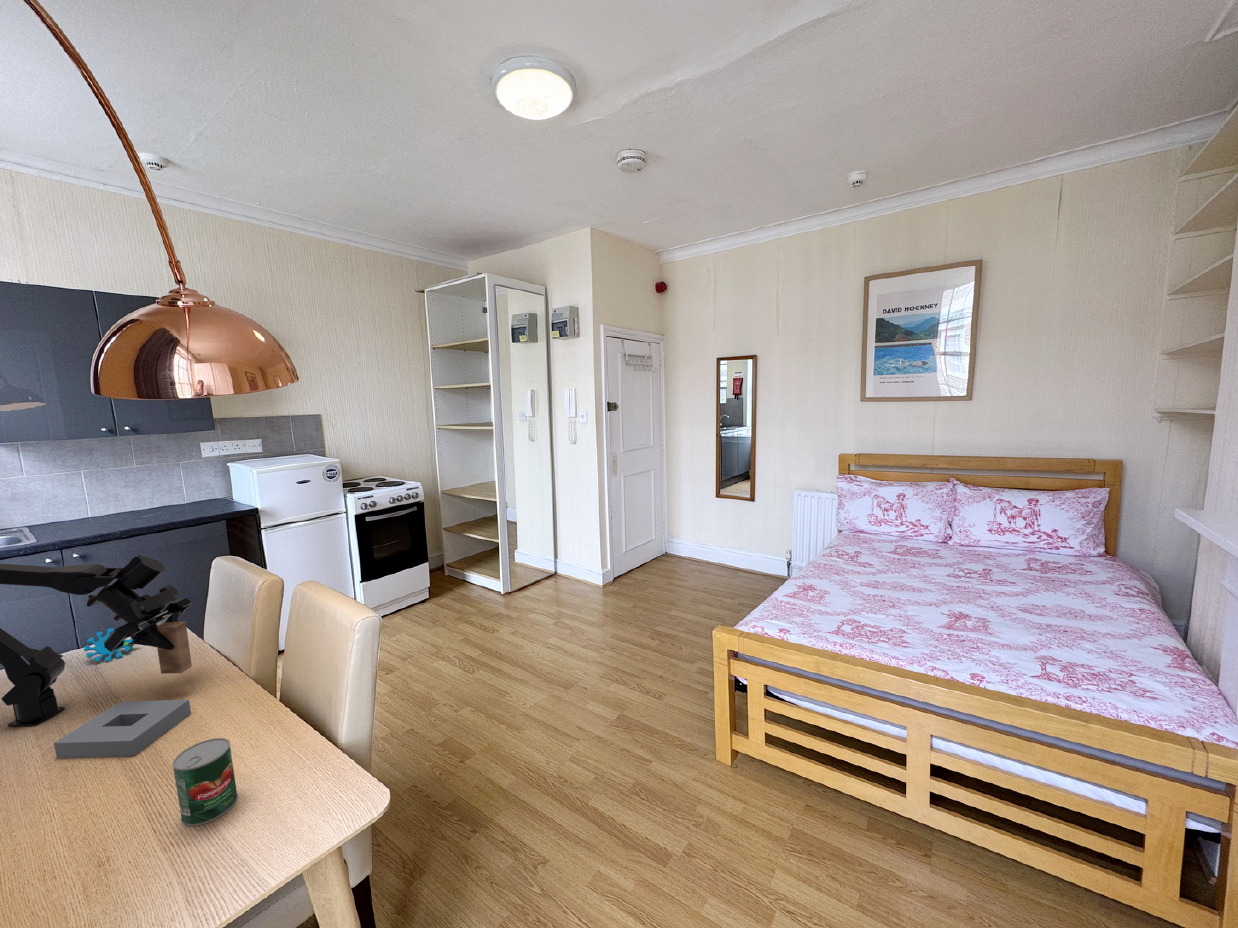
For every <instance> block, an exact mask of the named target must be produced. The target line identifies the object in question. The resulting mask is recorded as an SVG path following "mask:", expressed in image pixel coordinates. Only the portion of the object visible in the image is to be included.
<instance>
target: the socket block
mask: <svg viewBox="0 0 1238 928" xmlns="http://www.w3.org/2000/svg"><path fill="white" fill-rule="evenodd" d="M191 714H192V712H191V705H190V699H171V700H169V699H167V700H166V699H165V700H164V699H163V700H140V701H139V700H136V701H135V700H134V701H133V700H131V701H130V700H129V701H119V702H118V703H116V704H114V705H113V706H111V707H109V708H108V709H106V710H104V711H103V712H102V713H100V714H98V715H97V716H95V717H93V718H91V720H89V721H87V722H85V723H83V724H82V725H81V726H79V727H77V728H75V729H74V730H72V731H71V732H69V733H67V734H66V735H64V736H62V737H61V738H60V739H58V740H56V741H55V742H53V746H54V751H55V756H56V759H79V758H80V759H81V758H82V759H83V758H85V759H86V758H87V759H88V758H112V757H113V758H115V757H116V758H117V757H118V758H119V757H120V758H121V757H123V758H124V757H135V756H137V754H139V753H140V752H142V751H144V750H145V749H146V748H148V747H149V745H151V744H152V743H154V742H155V741H157V740H158V739H159V738H160V737H162V736H163V735H164V734H166V733H167V732H168V731H169V730H171V729H172V728H174V727H175V726H176V725H178V724H179V723H181V721H183V720H184V719H185V718H187V717H188V716H190V715H191Z"/></svg>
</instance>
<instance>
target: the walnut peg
mask: <svg viewBox="0 0 1238 928" xmlns="http://www.w3.org/2000/svg"><path fill="white" fill-rule="evenodd" d="M156 626H157V630H158V631H159V632H160V633H161V634H162V635H163V636H164V637H165V638H167V639H168V640H169V641H170V642H171V643H172V644H173V645H174V648H173V649H172V650H168V649H163V648H157V647H156V649H157V654H158V661H159V669H160V670H159V671H160V674H167V675H168V674H183V673H185V672H186V671H187V670H189V669H191V668H192V666H193V665H192V658H191V651H190V643H189V637H188V636H189V635H188V630H187V622H186V621H178V622H164V623H162V624H160V625H156Z"/></svg>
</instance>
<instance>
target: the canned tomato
mask: <svg viewBox="0 0 1238 928" xmlns="http://www.w3.org/2000/svg"><path fill="white" fill-rule="evenodd" d="M171 766H172V768H173V774H174V775H173V776H174V780H175V789H176V792H177V799H178V805H179V808H180V809H179V810H180V811H179V812H180V816H181V822H182V824H183V825H184V826H188V827H199V826H202V825H205V824H208V823H210V822H212V821H215V820H216V819H218V818H220V817H222V816H223V815H225V814H226V813H227V812H229V811H230V810H231V809H232V808H233V807H234V806H235V804H236V803H237V801H238V797H239V795H238V791H237V790H238V789H237V783H236V776H235V769H234V763H233V756H232V750H231V742H230V740H229V739H227V738H225V737H217V738H216V737H214V738H209V739H206V740H203V741H200V742H197V743H195V744H193V745H191V746H188V748H187V747H186V748H185V749H184V750H183V751H181V752H180V753H179V754H178V755H176V757H175V758H174V759H173V761H172V765H171Z"/></svg>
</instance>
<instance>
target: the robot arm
mask: <svg viewBox="0 0 1238 928" xmlns="http://www.w3.org/2000/svg"><path fill="white" fill-rule="evenodd" d="M165 571H166V566H165V565H164V564H163V563H162V562H160V560H158V559H156V558H155V559H154V558H152V557H148V556H143V555H141V554H140V553H139V554H137V555H136V556H134V557H132V559H131V560H130V561H129V562H128V563H127V564H126V565H125V566H124V567H106V566H104V565H102V564H97V563H93V564H92V563H91V564H76V565H69V566H60V567H59V566H56V567H55V566H42V565H41V566H39V565H28V564H15V563H14V564H12V563H1V562H0V585H10V586H24V587H26V586H27V587H42V588H43V587H44V588H50V589H53V590H55V591H57V592H60V593H65V594H72V595H76V596H85V595H87V596H88V599H87V602H86V607H89V608H90V607H93V606H98V605H103V606H104V607H106V608H107V609H108V610H109V611H110V612H112V613H113V614H114V615H115V616H114V617H113V620H114V621H115V622H119V621H120V620H122V621H123V622H124V623H125V624H123V625H121V626H119V627H117V628H114V631H113V632H112V633H110V634H109V635H110V636H109V637H108V638H107V639H106V640H105V641H104V646H105V648H106V649H107V650H109V651H110V652H113V651H115V650H117V649H119V648H121V647H122V646H123V645H124V641H123V640H124V639H125V640H127V639H128V637H129V638H130V639H132V640H133V641H132V642H131V643H130V645H134V644H135V645H137V646H138V645H139V646H144V647H145V646H147V647H152V648H153V647H154V648H156V649H157V648H163V649H168V650H172V649H173V648H174V645H173V644H172V643H171V642H170V641H169V640H168V639H167V638H165V637H164V636H163V635H162V634H161V633H160V632H159V631H158V630H157V626H158V625H160V624H162V623H164V622H179V618H180V617H181V616H182V615H183V614H184V613H185V611H187V610H188V609H189V607H190V606H191V605H192V604H193V602H192V601H191V600H190V599H188V598H187V597H181V598H178V599H177V597H176V596H178V595H179V591H178V590H177V588H176V587H174V586H173V585H172V584H169V585H166V586H164V587H162V588H160V589H159V590H158V591H159V593H156V594H154V595H152V596H151V595H149V594H144V595H140V593H138V592H137V591H136V590H138V589H140V590H144V589H147V587H148V586H150V585H151V584H152V583H153V582H154V581H155V580H156V579H157V578H159V576H160V575H162V574H163V573H164V572H165ZM111 583H112V584H111ZM99 588H101V589H100V590H98V592H97V593H94V594H93V592H95V591H96V590H97V589H99ZM91 593H92V594H91ZM168 603H169V604H168ZM167 604H168V605H167ZM166 605H167V606H166ZM135 645H134V646H135ZM121 649H122V648H121ZM63 657H64V655H63V654H59V653H57V652H56V651H54V649H53V648H51V646H47V645H46V646H45V647H43V648H41V649H37V648H36V649H35V648H31V647H29V646H27V645H25V644H24V643H23V642H22V641H20V640H19V639H17V638H16V637H14V636H13V635H11V634H9V633H8V632H7V631H6V630H4V629H2V628H1V627H0V666H2V667H3V668H4V671H5V674H6V677H7V679H8V680H9V682H10V683H12V684H13V687H12V688H11V689H9V691H8V692H6V693H5V694H4V695H3V696H2V697H1V700H2V702H3V703H4V704H5V705H6V706H12V709H13V713H14V718H15V719H14V720H12V721H11V722H9V723H7V727H32V726H37V725H39V724H41V723H43V722H44V721H46V720H48V719H49V718H51V717H53V716H54V715H56V714H58V713H60V712H62V711H63V710H65V709H66V707H65V706H63V705H62V706H58V701H57V697H56V695H55V691H54V688H51V686H52V685H53V684H54V683H56V682H57V679H58V677H59V676H60V675H61V674H62V673H64V670H65V667H66V662H65V660H64V659H63Z"/></svg>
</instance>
